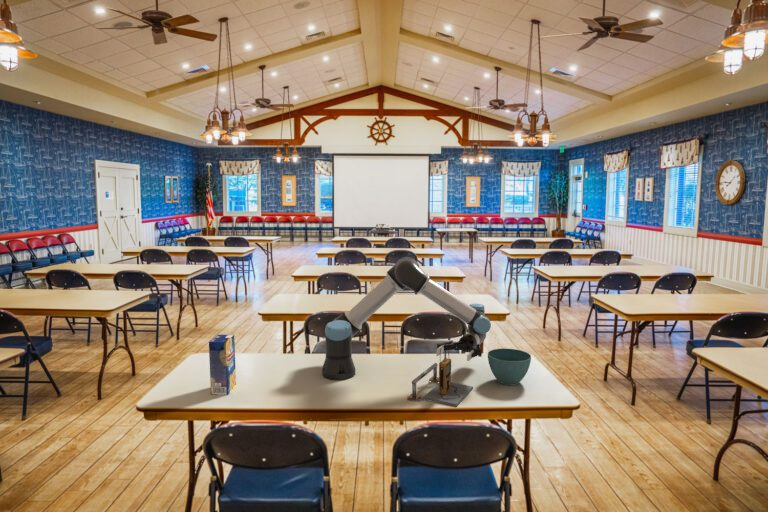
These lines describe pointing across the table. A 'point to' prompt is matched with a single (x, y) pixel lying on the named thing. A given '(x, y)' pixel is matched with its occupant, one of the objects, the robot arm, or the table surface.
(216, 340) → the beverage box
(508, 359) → the teal bowl
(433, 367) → the bent rod hurdle
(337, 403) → the table surface
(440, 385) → the multimeter
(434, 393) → the mat
